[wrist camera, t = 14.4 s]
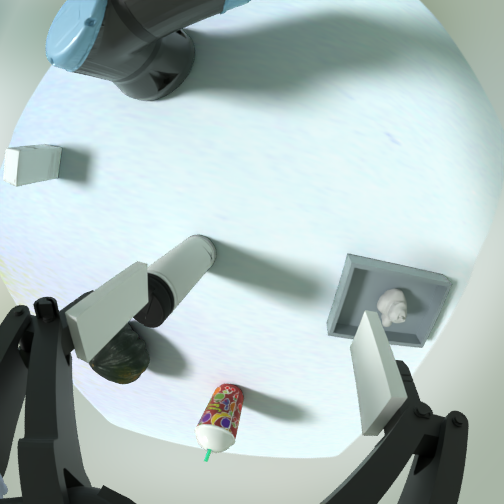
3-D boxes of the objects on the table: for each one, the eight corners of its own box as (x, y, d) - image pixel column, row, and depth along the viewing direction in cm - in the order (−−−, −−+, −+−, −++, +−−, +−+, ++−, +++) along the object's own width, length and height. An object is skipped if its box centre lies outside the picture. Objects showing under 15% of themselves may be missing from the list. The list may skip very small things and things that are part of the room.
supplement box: (63, 146, 45) (19, 150, 33) (58, 178, 48) (16, 188, 36) (46, 143, 46) (5, 147, 34) (42, 173, 48) (2, 181, 36)
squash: (129, 388, 57) (117, 404, 43) (86, 348, 56) (64, 353, 42) (162, 348, 62) (157, 356, 48) (118, 308, 61) (102, 304, 47)
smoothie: (225, 373, 55) (196, 446, 37) (255, 392, 56) (236, 465, 37) (207, 389, 58) (177, 455, 40) (235, 406, 59) (213, 472, 40)
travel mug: (223, 244, 45) (170, 302, 27) (207, 275, 48) (154, 341, 29) (191, 226, 45) (123, 270, 27) (178, 257, 48) (112, 312, 29)
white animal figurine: (408, 287, 41) (424, 311, 34) (393, 319, 43) (405, 345, 36) (382, 280, 42) (395, 303, 34) (368, 313, 44) (377, 340, 36)
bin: (347, 253, 42) (351, 262, 38) (442, 274, 40) (452, 283, 36) (326, 322, 47) (327, 335, 43) (416, 335, 44) (422, 347, 41)
